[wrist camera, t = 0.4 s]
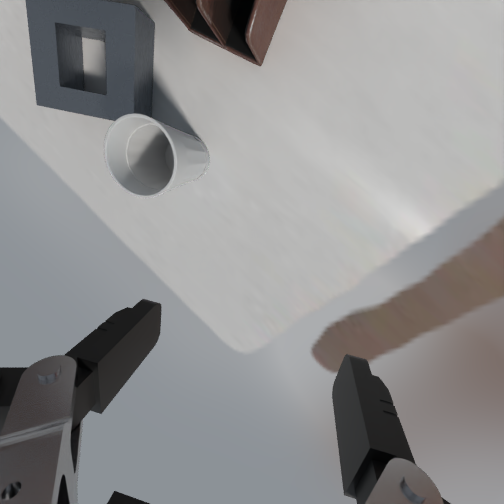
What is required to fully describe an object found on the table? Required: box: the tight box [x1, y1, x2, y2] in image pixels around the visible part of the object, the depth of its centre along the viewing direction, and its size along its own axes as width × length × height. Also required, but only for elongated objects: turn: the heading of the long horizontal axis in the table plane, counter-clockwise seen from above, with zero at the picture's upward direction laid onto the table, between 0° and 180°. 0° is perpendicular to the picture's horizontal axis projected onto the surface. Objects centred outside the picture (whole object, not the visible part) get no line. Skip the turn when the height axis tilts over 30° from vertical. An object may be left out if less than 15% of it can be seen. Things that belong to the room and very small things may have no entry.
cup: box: [104, 113, 210, 198], centre depth 31 cm, size 8×8×12 cm
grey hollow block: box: [26, 0, 155, 121], centre depth 33 cm, size 12×14×4 cm
